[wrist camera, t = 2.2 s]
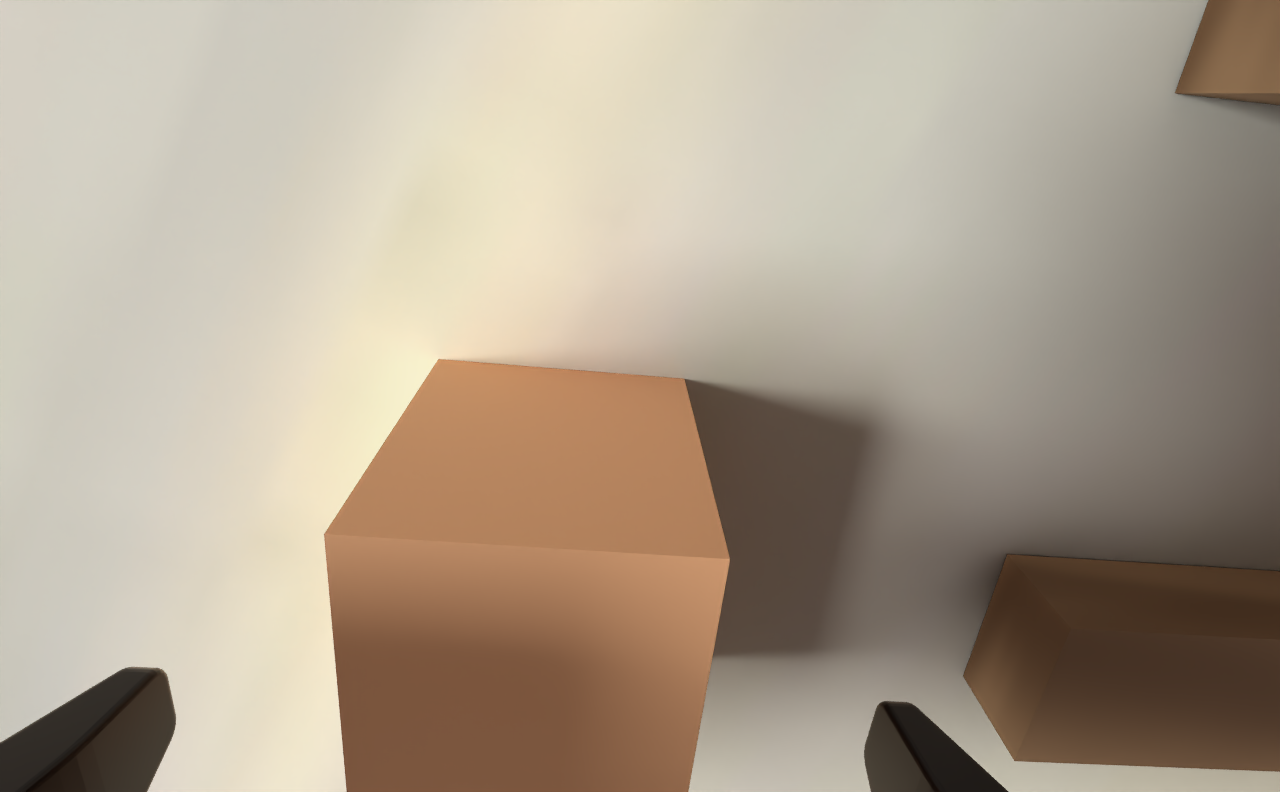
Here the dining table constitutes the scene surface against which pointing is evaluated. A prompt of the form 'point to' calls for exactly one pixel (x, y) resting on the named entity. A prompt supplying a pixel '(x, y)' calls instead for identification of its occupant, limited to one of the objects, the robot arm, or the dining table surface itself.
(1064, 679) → the notched board
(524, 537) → the block
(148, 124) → the dining table surface
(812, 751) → the dining table surface
